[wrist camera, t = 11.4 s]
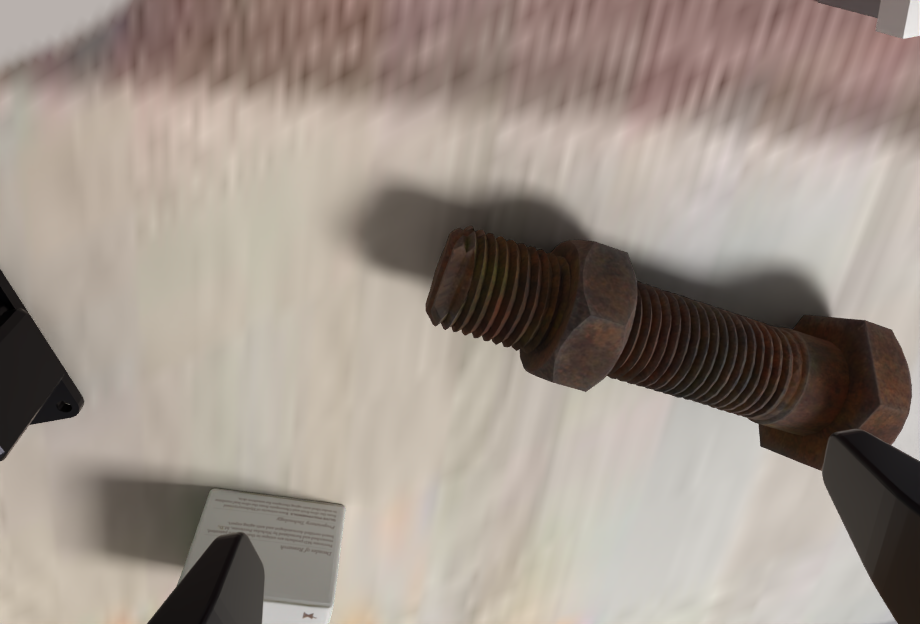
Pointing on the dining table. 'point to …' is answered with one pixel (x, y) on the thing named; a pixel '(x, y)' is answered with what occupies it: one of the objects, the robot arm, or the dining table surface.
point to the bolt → (671, 341)
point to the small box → (280, 549)
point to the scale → (886, 14)
